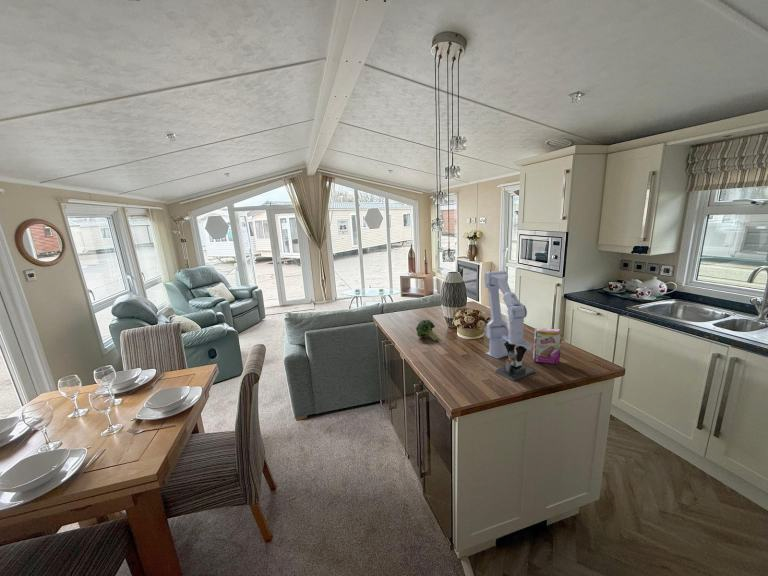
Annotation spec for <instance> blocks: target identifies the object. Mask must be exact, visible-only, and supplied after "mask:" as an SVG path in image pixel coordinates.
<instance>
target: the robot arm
mask: <svg viewBox="0 0 768 576" xmlns="http://www.w3.org/2000/svg"><path fill="white" fill-rule="evenodd" d="M508 279H509V275H508V273H507V271H506V270H503V269H502V270H493V271H486V272H485V274H484V285H485V288H486V289H488V298H489V300H488V301H489V307H490V308H489V309H490V310H489V311H490V320H489V322H487V323H485V324H486V327H485V335H486V337H487V339H489V349H488V350H489V351H487V352H485V355H488V356H490V357H493V358H495V359H501V358H503V357H506V356H508V355H509V354H508V353H509V351H512V350H516V351H517V361H518V362H520V361H522V362H523V357H524V355H525V353H526V352H527V351H530V350H532V346H533V345H532V344H530V343H528V342H527V341H525V340H524V324H525V322H524V321H525V318H526V317H527V315H528V311H527V308H526V305H524V304H523V303H521V302H520V300H519V299H518V296H517V295H516V293H514V292H512V291H511V289H510V285H509V283H508ZM499 290H500V291H499ZM500 292H501V293H502V295H503V297H502V299H503V302H504V304H505V306H506V308H507V316H508V322H509V329H508V324H507V323H506V322H505V321H504V320H502V312H501V311H502V310H501V301H500ZM515 346H517V347H515Z"/></svg>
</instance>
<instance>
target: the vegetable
mask: <svg viewBox="0 0 768 576" xmlns="http://www.w3.org/2000/svg"><path fill="white" fill-rule="evenodd" d="M434 328H435V324H434V323H433V322H432V320H430V319H422V320H421V321H419V322H418V324H417V326H416V327H415V329H416V332H417V333H416V335H417V336H418V337H419V338H424V337H425V338H431V339H432V340H433V341H434V342H435V341H437V339H438V338H439V335H438V334H437V333H436V332H434V331H433V329H434Z"/></svg>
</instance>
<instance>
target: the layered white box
mask: <svg viewBox="0 0 768 576" xmlns="http://www.w3.org/2000/svg"><path fill="white" fill-rule="evenodd" d="M508 354H509V355H507V356H508V358H507V359H508V360H511V361H512V362H511V365H512V366H515V367H517V366H520V365H523V360H522V361H520V362H518V361H517V351H516V349H514V350H512V351H509V353H508Z"/></svg>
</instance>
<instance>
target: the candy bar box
mask: <svg viewBox="0 0 768 576" xmlns="http://www.w3.org/2000/svg"><path fill="white" fill-rule="evenodd" d="M562 335H563V334H562V331H561V329H557V328H545V327H544V328H543V327H535V328H534V340H533V351H532V352H533V353H532V359H533V362H534V363H541V364H542V363H543V364H553V365H560V356H561V347H562V346H561V345H562Z"/></svg>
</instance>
